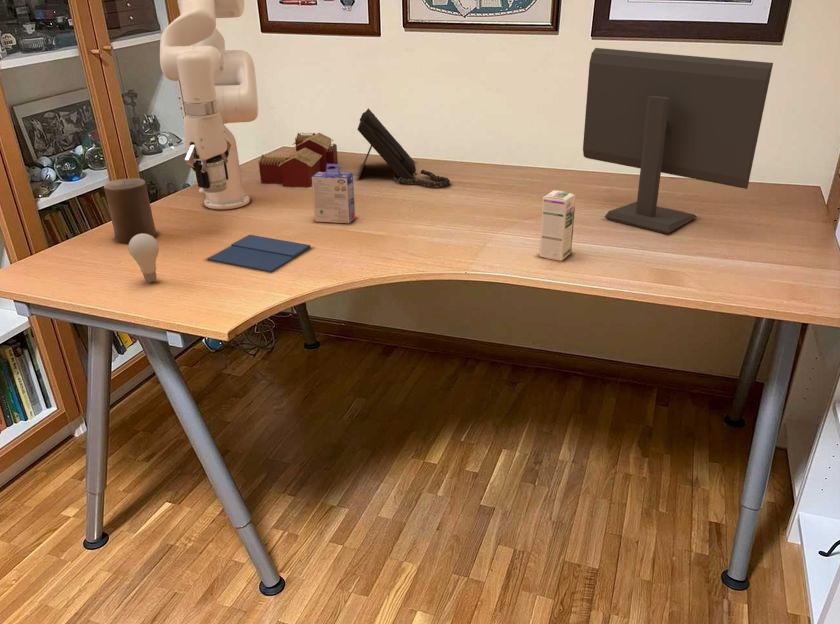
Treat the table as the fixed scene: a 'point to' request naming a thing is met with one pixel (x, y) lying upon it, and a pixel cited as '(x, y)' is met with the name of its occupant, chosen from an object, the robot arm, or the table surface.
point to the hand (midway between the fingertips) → (213, 182)
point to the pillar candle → (129, 208)
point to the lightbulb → (145, 254)
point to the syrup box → (557, 225)
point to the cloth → (260, 253)
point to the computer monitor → (673, 123)
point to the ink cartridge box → (333, 196)
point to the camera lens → (215, 175)
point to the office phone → (393, 152)
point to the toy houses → (299, 161)
